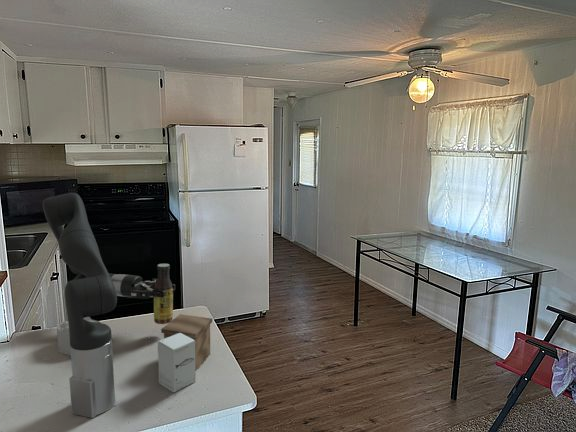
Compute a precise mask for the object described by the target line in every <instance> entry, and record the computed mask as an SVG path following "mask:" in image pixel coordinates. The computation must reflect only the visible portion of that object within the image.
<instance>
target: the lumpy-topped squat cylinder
mask: <svg viewBox="0 0 576 432" xmlns="http://www.w3.org/2000/svg"><path fill="white" fill-rule="evenodd" d="M83 319H84V320H87V321H90V322H97V323H101V321H99V320H97V319H96V320H95V319H92V318H91V316H90V317H85V318H83ZM56 337H57V349H58V351H59V352H60V353H61V354H64V355H70V356H71V351H70V336H69V324H68V320H64V321H62V322H60V323H58V325H57V326H56Z"/></svg>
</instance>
